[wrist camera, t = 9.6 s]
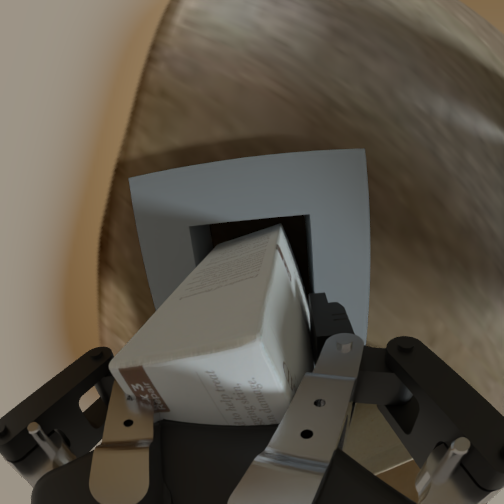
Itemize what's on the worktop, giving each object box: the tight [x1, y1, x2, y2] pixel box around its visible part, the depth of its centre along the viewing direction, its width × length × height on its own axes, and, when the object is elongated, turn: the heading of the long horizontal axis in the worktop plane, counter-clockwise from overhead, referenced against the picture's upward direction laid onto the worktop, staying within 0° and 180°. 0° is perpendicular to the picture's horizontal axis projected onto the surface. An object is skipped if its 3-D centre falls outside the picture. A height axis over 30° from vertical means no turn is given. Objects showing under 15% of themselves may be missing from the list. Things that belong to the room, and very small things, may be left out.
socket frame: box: [129, 149, 370, 346], centre depth 17 cm, size 12×14×4 cm
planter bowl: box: [344, 403, 420, 504], centre depth 17 cm, size 16×16×11 cm
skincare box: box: [109, 223, 315, 426], centre depth 12 cm, size 6×4×12 cm
